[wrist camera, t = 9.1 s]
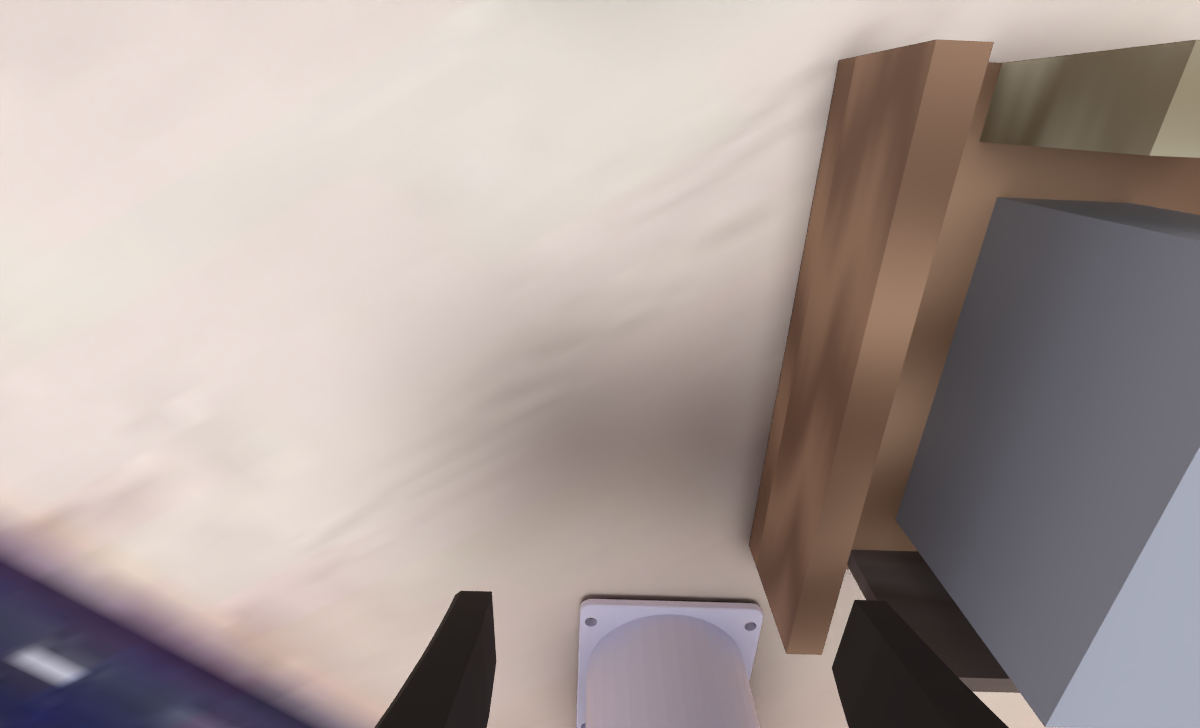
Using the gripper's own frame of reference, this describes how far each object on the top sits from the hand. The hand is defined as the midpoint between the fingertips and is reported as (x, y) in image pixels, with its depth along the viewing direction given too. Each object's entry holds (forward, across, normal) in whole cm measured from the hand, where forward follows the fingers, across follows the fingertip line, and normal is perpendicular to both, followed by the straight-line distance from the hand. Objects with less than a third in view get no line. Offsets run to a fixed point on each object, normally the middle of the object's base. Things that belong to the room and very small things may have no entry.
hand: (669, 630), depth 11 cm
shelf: (+10, -12, -2) cm, 16 cm away
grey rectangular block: (+9, -12, -1) cm, 15 cm away
